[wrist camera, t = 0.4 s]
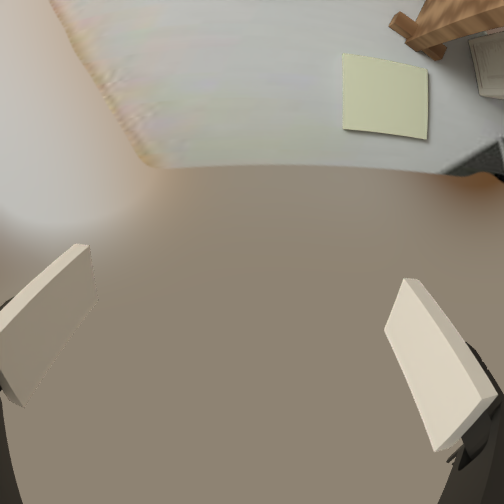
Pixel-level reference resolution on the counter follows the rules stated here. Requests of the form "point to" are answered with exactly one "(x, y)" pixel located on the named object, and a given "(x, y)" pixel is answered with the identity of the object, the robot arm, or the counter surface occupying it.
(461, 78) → the counter surface
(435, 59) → the screen
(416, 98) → the sticky note pad
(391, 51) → the counter surface
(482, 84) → the supplement box
